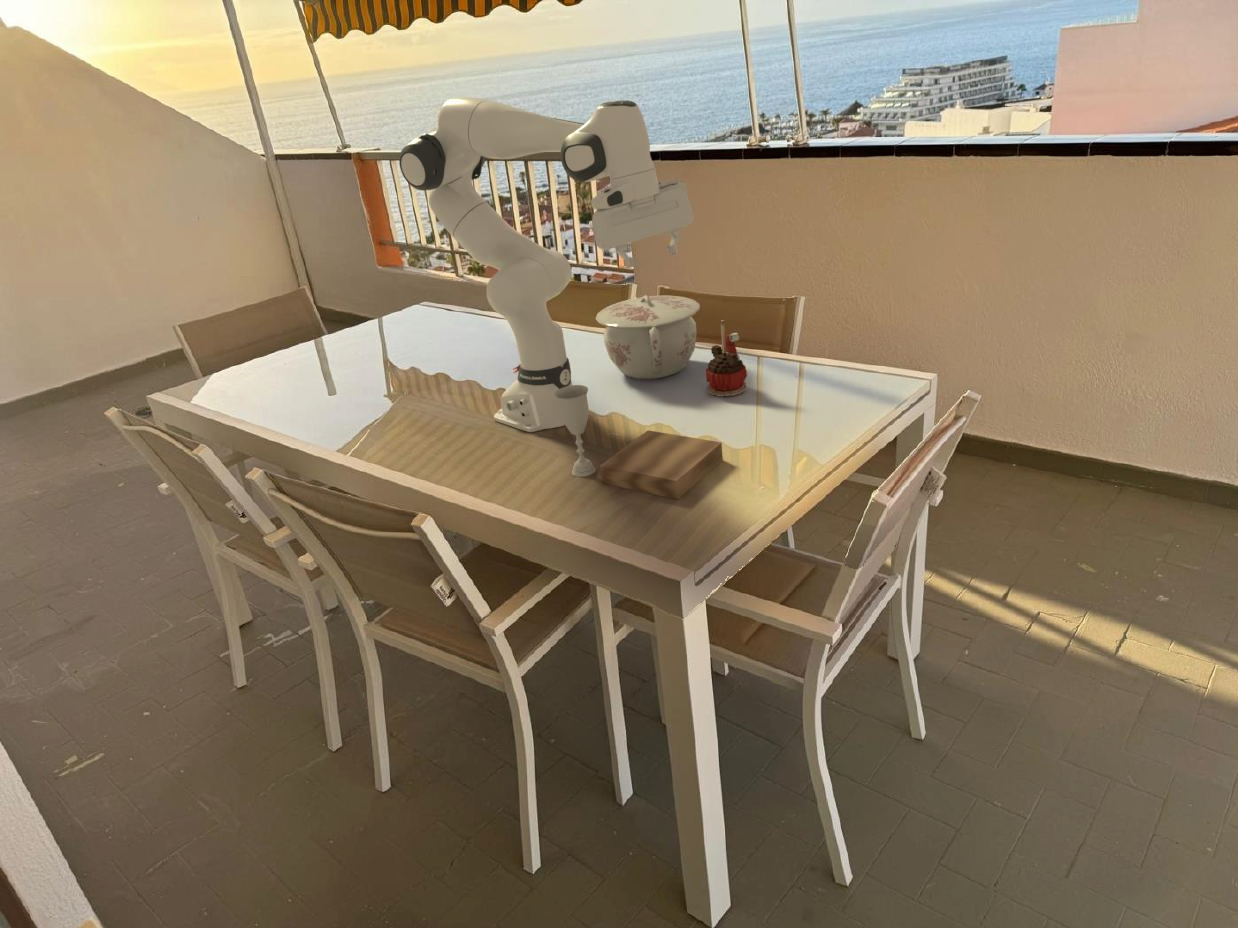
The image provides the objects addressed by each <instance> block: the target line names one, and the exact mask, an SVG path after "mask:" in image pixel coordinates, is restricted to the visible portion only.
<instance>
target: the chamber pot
mask: <svg viewBox="0 0 1238 928" xmlns="http://www.w3.org/2000/svg"><path fill="white" fill-rule="evenodd" d="M700 307H701V305H700V303H699V302H698V301H696V300H694V299H692V298H689V297H685V296H678V295H677V296H676V295H671V294H669V295H663V294H662V295H647V294H644V295H643V296H640V297H635V298H629V299H627V300H622V301H619V302H616V303H614V304H611V305H608V306H606V307H605V308H604V307H603V309H602V310H600V311H598V312H597V314H596V317H595V320H596V321H597V322H598V324H600V325H602V326H605V330H604V333H603V341H604V345H605V346H604V347H605V350H606V352H607V355H608V357H609V359H610V360H611V361H612V363H613V364H614V365H615V367H616V368H617V369H618V370H619V371H620V372H621V373H622V374H623V375H624V376H627V377H629V378H633V379H639V380H658V379H662V378H667V377H669V376H672V375H675V374H677V373H679V372H681V371H682V370H683V369H684V368H685V367H686V366H687V365H688V363H689V361H690V360H691V357H692V356H693V354H694V351H695V348H696V342H697V323H696V321H695V320H694V318H693V316H694V315H696V313H698V312H699V311H700V309H701V308H700Z"/></svg>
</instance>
